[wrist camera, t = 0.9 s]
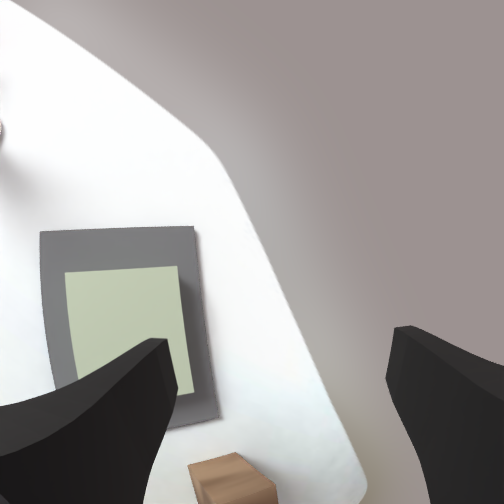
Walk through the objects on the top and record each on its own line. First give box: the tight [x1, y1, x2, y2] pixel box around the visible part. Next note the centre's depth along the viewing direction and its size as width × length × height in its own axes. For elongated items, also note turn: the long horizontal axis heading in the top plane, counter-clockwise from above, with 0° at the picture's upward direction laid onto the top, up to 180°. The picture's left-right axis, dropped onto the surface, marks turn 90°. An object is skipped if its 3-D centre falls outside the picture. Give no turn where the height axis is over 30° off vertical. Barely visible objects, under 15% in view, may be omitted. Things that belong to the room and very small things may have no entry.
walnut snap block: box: [188, 452, 278, 504], centre depth 16 cm, size 4×4×6 cm
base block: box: [65, 266, 194, 396], centre depth 17 cm, size 8×7×2 cm
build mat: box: [40, 226, 219, 429], centre depth 18 cm, size 14×11×1 cm
